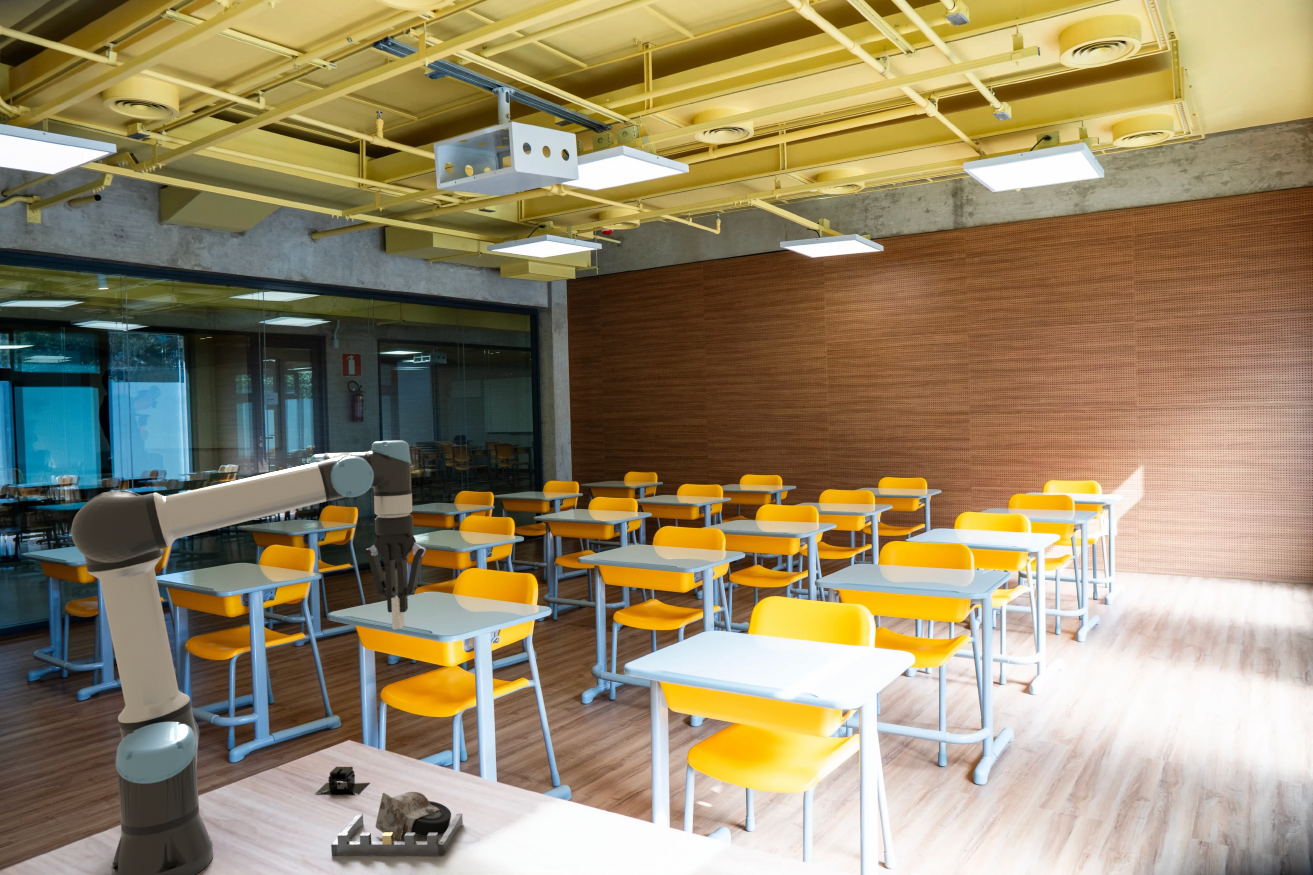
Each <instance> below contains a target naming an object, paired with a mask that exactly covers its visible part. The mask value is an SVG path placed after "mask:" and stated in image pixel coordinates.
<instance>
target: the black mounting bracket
mask: <svg viewBox="0 0 1313 875" xmlns="http://www.w3.org/2000/svg"><path fill="white" fill-rule="evenodd" d="M355 778H356V774H355V771H354V768H353V766H335V767H334V768H333V769H331V771H330V772H329V776H328V782H326V783H324V784H323V785H322V787H320V788H319V789H318V790H317V791H316V792H315V793H314V795H315V796H359V795H361V793H362V792H363V791H365V789H366V788H367V787H368V786H369V785H370V784H371V782H356V779H355Z"/></svg>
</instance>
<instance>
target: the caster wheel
mask: <svg viewBox="0 0 1313 875" xmlns="http://www.w3.org/2000/svg"><path fill="white" fill-rule="evenodd" d="M379 803H380V804H379V807H378V808H379V809H378V813H377V817H376V821H375V828H376V829H377V830H378V831H380V832H382V834H384V833H393V839H394V842H402V835H403V832H404V833H405V834H406V833H416V835H417V836H422V837H427V835H428V833H438V836H440V835H444V834H445V832H446V830H447V829H448V827H449V826H450V824H451V823H450V822H451V818H452V812H451V810H450V809H449V808H448V807H447V806H446V805H444V804H442V803H439V802H437V801H431V800H429V799H428V798H427V796H426V795H424V794H423V793H421V792H417V791H408V792H404V793H401V794H398V795H395V796H390V795H388V794H387V793H385V792H383V793H382V795H381V799H380V802H379Z"/></svg>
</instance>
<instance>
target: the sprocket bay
mask: <svg viewBox="0 0 1313 875" xmlns="http://www.w3.org/2000/svg"><path fill="white" fill-rule="evenodd" d="M450 822H451V823H449V827H448V829H447V830H446V832H445V833H443V834H442V837H441V839H440V840H439V835H438V833H428V835H427V836H426V841H417V838H416V837H417V836H416V835H417V834H416V833H406V832H405V834H404V841H400V842H397V841H395V840H394V839H393V833H382V835H381V840H382V841H372V832H361V833H360V835H359V841H355V840H353V841H351V840H352V839H353V837H354V836H355V835H356V834H357V833H358V831H359V830H360V829H361V828H362V826H363V825H364V814H363V813H357V814H356V815H355V816H354V817H353V818H352V820H351V821H350V822H348V824H347V825H346V826H345V828H344V829H343V830H342V831H341V832H338V834H337V836H336V838H335V840H333V842H331V845H330V847H331V856H335V857H336V856H337V857H340V856H341V857H343V856H345V857H346V856H348V857H351V856H352V857H353V856H355V857H357V856H359V857H360V856H362V857H363V856H365V857H366V856H367V857H368V856H369V857H374V856H375V857H376V856H377V857H380V856H381V857H383V856H385V857H387V856H388V857H393V856H394V857H399V856H400V857H403V856H404V857H419V856H420V857H444V856H445V855H446V853H447V852H448V850H449V848H450V846H451V844H452V843H453V842H454V839H455V838H456V836H457V835H458V833H459V831H460V830H461V827H462V826H463V825H462V824H464V823H463V822H464V821H463V813H456V814H455V816H454V817H453V819H452V821H450Z"/></svg>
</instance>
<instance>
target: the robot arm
mask: <svg viewBox="0 0 1313 875" xmlns="http://www.w3.org/2000/svg"><path fill="white" fill-rule="evenodd" d="M411 464H412V461H411V452H410V444H409V443H408V442H407V441H405V440H381V441H374V442H373V443H372V444H371V449H370V450H368V451H358V452H332V453H331V452H325V453H318V454H313V455H312V456H311V457H310V459H309V464H304V465H300V466H295V467H291V468H286V469H282V470H278V471H272V472H268V473H264V474H260V475H254V476H251V477H246V478H242V479H238V480H232V481H229V482H223V483H219V484H214V485H210V486H206V487H205V486H204V487H200V488H198V489H192V490H188V491H183V492H179V493H174V494H170V495H165V496H164V495H162V494H161V493H158V492H153V493H148V494H139V493H137V492H134V491H129V490H125V489H124V490H123V489H119V490H109V491H107V492H102V493H100V494H97V495H96V496H94V497H93V498H91V499H90V500H88V502H87V503H86V504H85V505H83V506H82V507H81V508H80V509H79V510H78V512H77V513H76V514H75V516H74V518H73V521H72V524H71V530H70V533H71V539H72V541H73V543H74V545H75V547H76V548H77V550H78V551H79V552H80V553H81V554H82V555H83V556H84V560H85V564H86V570H87V573H88V574H89V575H90V576H93V577H95V578H97V579H98V580H99V582H100V587H101V592H102V593H101V594H102V597H103V601H104V608H105V612H106V617H107V623H108V626H109V631H110V637H111V642H112V648H113V651H114V655H115V656H114V657H115V660H116V664H117V669H118V670H117V671H118V675H119V680H120V684H121V685H120V686H121V690H122V695H123V700H124V708H123V709H122V711H121V712H120V713H119V715H118V717H117V720H118V726H119V730H120V731H119V732H120V735H121V736H120V737H121V741H119V743H118V746H117V748H116V756H115V762H114V763H115V769H116V771H117V779H118V780H117V784H118V798H119V799H118V800H119V816H120V830H121V832H120V837H119V840H118V844H117V847H116V852H115V854H114V856H113V857H114V858H113V861H112V864H111V870H110V871H111V872H110V873H111V875H197V874H199V872H201V871H202V870H203V869H205V868H206V867H207V866H208V865H209V864H210V863H211V862H212V860H213V857H214V846H213V845H214V844H213V840H212V838H211V836H210V835H209V833H208V830H207V827H206V826H205V823H204V820H203V818H202V816H201V814H200V804H199V802H200V800H199V786H198V767H197V766H198V749H199V748H198V746H199V740H200V730H199V729H200V728H199V725H198V723H197V722H196V718H195V717H194V713H193V708H192V702H191V699H190V695H188V694H186V693H184V692H182V691H180V689H179V685H178V681H177V676H176V672H175V670H176V669H175V665H174V662H173V655H172V650H171V646H170V640H169V636H168V630H167V625H166V621H165V620H166V619H165V615H164V610H163V605H162V601H161V595H160V594H161V593H160V591H159V586H158V585H159V584H158V581H157V580H158V579H157V575H156V571H155V569H156V566H157V564H158V563H159V562H160V561H161V559H162V558H163V555H162V551H161V549H165V548H169V547H171V546H172V544H173V543H174V542H175V541H176V540H177V539H181V538H184V537H188V536H192V535H196V534H197V535H198V534H200V533H206V532H208V531H212V530H217V529H220V528H225V527H228V526H232V525H236V524H241V523H244V522H248V521H252V520H256V519H261V518H265V517H268V516H273V515H277V514H280V513H285V512H289V511H293V510H297V509H301V508H304V507H309V506H313V505H317V504H320V503H324V502H329V501H330V502H331V501H334V500H339V499H342V498H357V497H359V496H362V495H364V494H366V493H367V492H368V491H369V490H370V489H371V488H372V489H373V499H374V500H373V501H374V502H373V503H374V505H373V506H374V508H373V509H374V514H375V515H376V518H374V527H375V532H374V533H375V539H374V542H373V545H371V546H370V547H369V548H366V549H364V550H363V555H364V557H365V558H366V559H367V561H368V563H369V567H370V570H371V574H372V578H373V580H374V585H375V589H376V592H377V594H378V595H382V596H385V597H386V602H387V603H386V604H387V608H386V609H387V612H388V613H391V619H392V620H391V622H392V625H391V626H392V630H400V629H403V627H405V613H406V612H407V611H408V609H409V606H408V604H409V601H408V600H409V599H408V596H409V595H412V594H413V593H415V592H416V591H417V588H418V583H419V577H420V572H421V567H422V562H423V557H424V556H425V554H426V553H427V551H428V548H427V547H426V546H422V545H420V544H419V543H417V540H416V538H415V536H414V517H413V515H412V514H410V513H412V512H413V493H412V469H411V468H412V465H411ZM411 552H412V555H413V559H412V561H411V567H410V572H409V577H408V559H409V558H408V556H409V555H410V553H411ZM379 554H380V555H381V557H382V558H383V565H384V572H383V568H382V564H381V561H380V558H379ZM396 571H397V572H396ZM396 573H397V574H396ZM384 574H385V575H384ZM396 575H397V576H396ZM396 577H397V584H396Z"/></svg>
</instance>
